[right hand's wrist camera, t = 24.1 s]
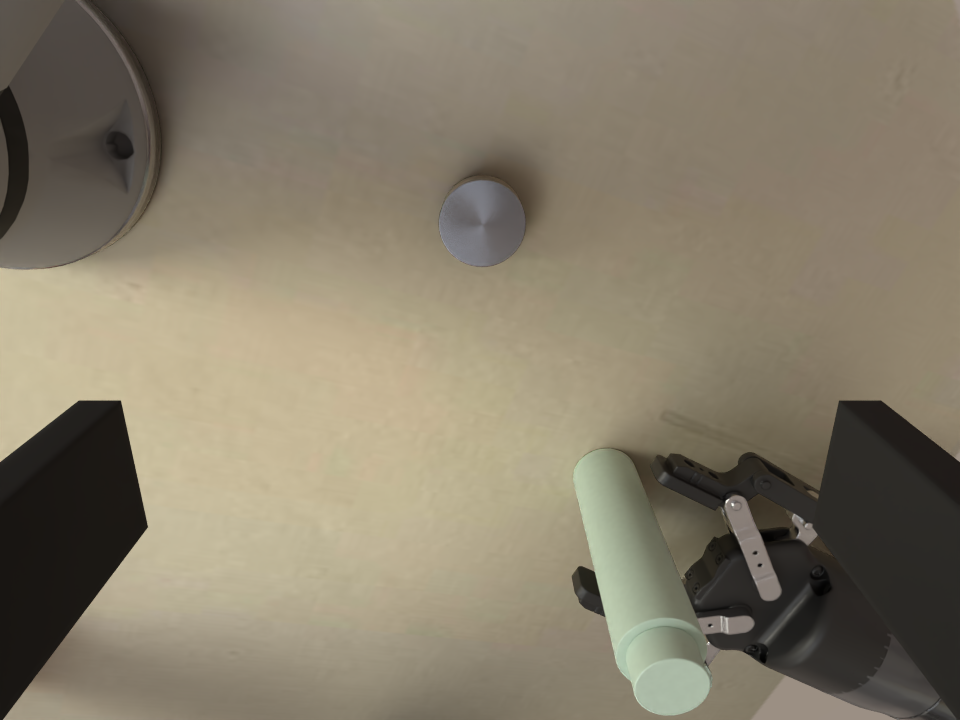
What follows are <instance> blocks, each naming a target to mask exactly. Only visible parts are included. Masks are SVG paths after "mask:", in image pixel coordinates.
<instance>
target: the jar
mask: <svg viewBox="0 0 960 720" xmlns="http://www.w3.org/2000/svg"><path fill="white" fill-rule="evenodd" d="M573 481H574V486H575V490H576V494H577V499H578V503H579V507H580V511H581V515H582V520H583V524H584V528H585V532H586V536H587V541H588V545H589V549H590V553H591V558H592V562H593V566H594V570H595V574H596V579H597V583H598V587H599V591H600V595H601V600H602V604H603V608H604V612H605V616H606V621H607V625H608V629H609V633H610V638H611V642H612V646H613V650H614V654H615V659H616V663H617V666H618V668H619V670H620V671H621V673H622V674H623V675H624V676H625V677H626V678H627V679H629V680H630V681H631V683H632V687H633V690H634V694H635V697H636V699H637V701H638V702H639V704H640V705H641V706H642V707H643V708H645V709H646V710H648V711H650V712H652V713H655V714H659V715H668V716H670V715H679V714H683V713H686V712H689V711H691V710H693V709H694V708H696V707H697V706H699V705H700V704H701V703H702V702H703V701H704V700H705V698H706V697H707V695H708V693H709V691H710V688H711V687H712V680H713V679H712V675H711V672H710V670H709V668H708V667H707V665H706V663H705V664H704V662H705V659H706V656H707V642H706V639H705V637H704V634H703V632H702V629H701V627H700V624H699V622H698V620H697V617H696V615H695V612H694V610H693V607H692V605H691V602H690V600H689V597H688V595H687V593H686V590H685V588H684V585H683V583H682V580H681V578H680V575H679V573H678V571H677V568H676V566H675V563H674V561H673V558H672V556H671V553H670V551H669V549H668V546H667V544H666V541H665V539H664V536H663V534H662V531H661V529H660V527H659V524H658V522H657V519H656V517H655V514H654V512H653V509H652V507H651V504H650V502H649V500H648V497H647V495H646V492H645V490H644V487H643V485H642V482H641V480H640V478H639V475H638V473H637V470H636V468H635V465H634V463H633V461H632V460H631V459H630V458H629V457H628V456H627V455H626V454H625V453H623V452H621V451H619V450H615V449H610V448H604V449H597V450H594V451H592V452H590V453H588V454H586V455H585V456H584V457H583V458H582V459H581V460H580V461H579V462H578V463H577V465H576V467H575V469H574V473H573Z"/></svg>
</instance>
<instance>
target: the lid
mask: <svg viewBox="0 0 960 720" xmlns="http://www.w3.org/2000/svg"><path fill="white" fill-rule="evenodd" d="M525 228H526V218H525V212H524V209H523V206H522V203H521V201H520V199H519V197H518V195H517V193H516V192H515V191H514V189H513V188H512V187H511V186H510V185H509V184H507V183H506V182H504V181H503V180H501V179H499V178H496V177H493V176H489V175H476V176H471V177H468V178H465V179H464V180H462V181H460V182H459V183H457V184H456V185H455V186H454V187H453V188H452V189H451V190H450V191H449V192H448V194H447V196H446V197H445V200H444V202H443V205H442V208H441V211H440V216H439V231H440V236H441V238H442V241H443V243H444V245H445V247H446V248H447V249H448V251H449V252H450V253H451V254H452V255H453V256H454V257H455V258H457V259H458V260H460V261H461V262H463V263H465V264H468V265H471V266H476V267H488V266H493V265H496V264H499V263H501V262H503V261H505V260H506V259H508V258H509V257H510V256H512V255H513V254H514V252H515V251H516V250H517V249H518V247H519V246H520V244H521V242H522V240H523V237H524V234H525Z"/></svg>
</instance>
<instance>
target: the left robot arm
mask: <svg viewBox="0 0 960 720" xmlns="http://www.w3.org/2000/svg"><path fill="white" fill-rule="evenodd" d="M650 467H651V469H652V471H653V474H654V476H655V478H656V480H657V481H658V482H659V483H661V484H662V485H663V486H665V487H667V488H669V489H671V490H673V491H676V492H678V493H680V494H682V495H684V496H686V497H688V498H690V499H692V500H694V501H696V502H698V503H700V504H703V505H705V506H707V507H709V508H711V509H713V510H716V509H717V508H718V506H719V509H720V512H721V514H722V517H723V520H724V522H725V525H726V527H727V530H728V532H729V534H726V535H724V536H722V537H720V538H719V539H718V538H716V537H714V538H713V539H712V540H711V542H710V543H709V544H708V545H707V547H706V550H705V552H704V554H703V557H702V558H701V559H699V560H698V561H697V562H696V563H694V564H693V565H692V566H691V567H690V568H689V570H688V571H687V572H686V574H685V577H686V579H681V580H682V583H683V585H684V588H685V590H686V593H687V595H688V597H689V600H690V602H691V605H692V607H693V610H694V612H695V615H696V617H697V620H698V622H699V624H700V627H701V629H702V632H703V634H704V637H705V639H706V642H707V656H706V659H705V662H704V664H705V663H706V665H707V667H708V666H709V664H710V663H711V662H712V660H713V659H714V658H715V656H716V655H717V654H718V652H719V651H720V650H739V651H743V652H745V653H746V654H748V655H749V656H751V657H752V658H754V659H755V660H757V661H758V662H760V663H761V664H763V665H764V666H766V667H768V668H770V669H773V670H775V671H777V672H779V673H782V674H784V675H786V676H789V677H791V678H793V679H795V680H798V681H800V682H802V683H805V684H807V685H809V686H811V687H814V688H816V689H818V690H820V691H822V692H825V693H827V694H830V695H832V696H834V697H837V698H839V699H841V700H843V701H846V702H848V703H850V704H853V705H855V706H858V707H861V708H864V709H868V710H871V711H876V712H880V713H883V714H886V715H888V716H890V717H893V718H895V719H897V720H957V719H956V717H955V716H954V715H953V713H952V712H951V711H950V710H949V708H948V707H947V706H946V704H945V703H944V702H943V700H942V699H941V698H940V696H939V695H938V694H937V692H936V691H935V690H934V688H933V687H932V686H931V684H930V683H929V682H928V680H927V679H926V678H925V676H924V675H923V674H922V672H921V671H920V670H919V668H918V667H917V666H916V664H915V663H914V662H913V660H912V659H911V658H910V656H909V655H908V654H907V652H906V651H905V650H904V648H903V647H902V646H901V644H900V643H899V642H898V641H897V639H896V638H895V637H894V635H893V634H892V633H891V631H890V630H889V629H888V627H887V626H886V625H885V623H884V622H883V621H882V619H881V618H880V617H879V615H878V614H877V613H876V611H875V610H874V609H873V607H872V606H871V605H870V603H869V602H868V601H867V599H866V598H865V597H864V595H863V594H862V593H861V591H860V590H859V589H858V587H857V586H856V585H855V583H854V582H853V581H852V579H851V578H850V577H849V575H848V574H847V573H846V572H845V570H844V569H843V568H842V566H841V565H840V564H839V562H838V561H837V560H836V558H834V557H832V556H829V555H827V554H825V553H823V552H821V551H819V550H817V549H815V548H813V547H811V546H809V545H810V543H811V542H812V541H813V540H814V539H815V538H816V537H817V536H818V534H817V533H816V532H815V530H814V529H813V528H812V525H813V520H814V516H815V511H816V506H817V502H818V497H819V492H820V491H818V490H816V489H815V488H813V487H811V486H809V485H808V484H806V483H804V482H803V481H801V480H799V479H798V478H796V477H794V476H793V475H791V474H789V473H787V472H786V471H784V470H782V469H781V468H779V467H777V466H776V465H774V464H772V463H771V462H769V461H767V460H765V459H764V458H762V457H760V456H759V455H757V454H755V453H752V452H748V453H745V454H743V455H742V456H741V457H740V458H739V460H738V466H736V467H735V468H733V469H732V470H730V471H728V472H725V473H718V472H715V471H713V470H711V469H709V468H707V467H705V466H703V465H701V464H699V463H697V462H695V461H693V460H691V459H688V458H687V457H685V456H682V455H680V454H670V455H669V457H668V458H665V457H663V456H661V455H657V456H656V457H655V459H654V460H653V462H652V463H651V464H650ZM757 494H761V495H763V496H764V497H766V498H768V499H770V500H771V501H773V502H775V503H776V504H778V505H780V506H782V507H783V508H785V509H786V514H787V516H788V517H789V518H790V520H791V521H792V526H791V528H786V527H778V528H770V529H761V530H758V529H757V527H756V525H755V522H754V519H753V517H752V514H751V511H750V509H749V506H748V503H747V501H748V500H750V499H751V498H753V497H754V496H756V495H757ZM572 580H573V585H574V591H575V594H576V595H577V596H578V598H579V603H580V604H581V605H582V606H583V607H584V608H586V609H588V610H590V611H592V612H593V611H594V612H595V613H597V614H600V615H602V616H604V617H606V616H605V612H604V608H603V604H602V600H601V595H600V591H599V587H598V583H597V579H596V574H595V572H594V571H592V570H589V569H587V568H585V567H582V566H579V567H578V568H577V570H576V571H575V572H574V574H573V575H572ZM708 668H709V667H708Z"/></svg>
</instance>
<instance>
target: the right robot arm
mask: <svg viewBox="0 0 960 720" xmlns="http://www.w3.org/2000/svg"><path fill="white" fill-rule="evenodd" d="M160 160H161V131H160V124H159V117H158V112H157V108H156V104H155V100H154V97H153V94H152V91H151V88H150V85H149V83H148V80H147V78H146V76H145V73H144V71H143V69H142V67H141V65H140V63H139V61H138V59H137V58H136V56H135V54H134V52H133V51H132V49H131V48H130V46H129V45H128V43H127V41H126V40H125V39H124V37H123V36H122V35H121V33H120V32H119V31H118V29H117V28H116V27H115V26H114V25H113V23H112V22H111V21H110V20H109V19H108V18H107V17H106V15H105V14H104V13H103V12H102V11H101V10H99V9H98V8H97V7H96V6H95V5H94V4H93V3H92V2H91V1H90V0H0V267H1V268H8V269H44V268H52V267H58V266H63V265H66V264H70V263H73V262H76V261H78V260H81V259H83V258H85V257H88V256H90V255H92V254H95V253H97V252H99V251H101V250H103V249H105V248H107V247H108V246H110V245H112V244H113V243H115V242H116V241H117V240H119V239H120V238H121V237H122V236H123V235H125V234H126V233H127V232H128V231H129V230H130V229H131V228H132V227H133V225H134V224H135V223H136V222H137V221H138V219H139V218H140V216H141V215H142V213H143V212H144V210H145V209H146V207H147V205H148V203H149V201H150V199H151V196H152V194H153V191H154V188H155V185H156V181H157V177H158V174H159V167H160ZM147 528H148V525H147V520H146V516H145V511H144V506H143V502H142V497H141V492H140V488H139V483H138V478H137V474H136V469H135V464H134V460H133V455H132V450H131V446H130V441H129V436H128V432H127V427H126V422H125V418H124V413H123V408H122V404H121V401H78V402H77V403H75V404H74V405H73V406H71V407H70V408H69V409H68V410H66V411H65V412H64V413H62V414H61V415H60V416H59V417H57V418H56V419H55V420H54V421H52V422H51V423H50V424H48V425H47V426H46V427H45V428H43V429H42V430H41V431H40V432H38V433H37V434H36V435H34V436H33V437H32V438H31V439H29V440H28V441H27V442H25V443H24V444H23V445H22V446H20V447H19V448H18V449H17V450H15V451H14V452H13V453H11V454H10V455H9V456H8V457H6V458H5V459H4V460H2V461H1V462H0V720H3V719H4V717H5V716H6V715H7V713H8V712H9V711H10V710H11V708H12V707H13V706H14V704H15V703H16V702H17V700H18V699H19V698H20V696H21V695H22V694H23V692H24V691H25V690H26V688H27V687H28V686H29V684H30V683H31V682H32V680H33V679H34V678H35V676H36V675H37V674H38V672H39V671H40V670H41V668H42V667H43V666H44V664H45V663H46V662H47V660H48V659H49V658H50V656H51V655H52V654H53V652H54V651H55V650H56V648H57V647H58V646H59V644H60V643H61V642H62V641H63V639H64V638H65V637H66V635H67V634H68V633H69V631H70V630H71V629H72V627H73V626H74V625H75V623H76V622H77V621H78V619H79V618H80V617H81V615H82V614H83V613H84V611H85V610H86V609H87V607H88V606H89V605H90V603H91V602H92V601H93V599H94V598H95V597H96V595H97V594H98V593H99V591H100V590H101V589H102V587H103V586H104V585H105V583H106V582H107V581H108V579H109V578H110V577H111V575H112V574H113V573H114V572H115V570H116V569H117V568H118V566H119V565H120V564H121V562H122V561H123V560H124V558H125V557H126V556H127V554H128V553H129V552H130V550H131V549H132V548H133V546H134V545H135V544H136V542H137V541H138V540H139V538H140V537H141V536H142V534H143V533H144V532H145V530H146V529H147ZM812 528H813V529H814V530H815V532H816V533H817V534H818V536H819V537H820V538H821V540H822V541H823V542H824V544H825V545H826V546H827V548H828V549H829V550H830V552H831V553H832V554H833V556H834V557H835V558H836V560H837V561H838V562H839V564H840V565H841V566H842V568H843V569H844V570H845V572H846V573H847V574H848V575H849V577H850V578H851V579H852V581H853V582H854V583H855V585H856V586H857V587H858V589H859V590H860V591H861V593H862V594H863V595H864V597H865V598H866V599H867V601H868V602H869V603H870V605H871V606H872V607H873V609H874V610H875V611H876V613H877V614H878V615H879V617H880V618H881V619H882V621H883V622H884V623H885V625H886V626H887V627H888V629H889V630H890V631H891V633H892V634H893V635H894V637H895V638H896V639H897V641H898V642H899V643H900V644H901V646H902V647H903V648H904V650H905V651H906V652H907V654H908V655H909V656H910V658H911V659H912V660H913V662H914V663H915V664H916V666H917V667H918V668H919V670H920V671H921V672H922V674H923V675H924V676H925V678H926V679H927V680H928V682H929V683H930V684H931V686H932V687H933V688H934V690H935V691H936V692H937V694H938V695H939V696H940V698H941V699H942V700H943V702H944V703H945V704H946V706H947V707H948V708H949V710H950V711H951V712H952V713H953V715H954V716H955V717H956V719H957V720H960V462H959V461H957V460H956V459H955V458H954V457H952V456H951V455H950V454H949V453H947V452H946V451H945V450H943V449H942V448H941V447H940V446H938V445H937V444H936V443H935V442H933V441H932V440H931V439H929V438H928V437H927V436H926V435H924V434H923V433H922V432H920V431H919V430H918V429H917V428H915V427H914V426H913V425H912V424H910V423H909V422H908V421H906V420H905V419H904V418H903V417H901V416H900V415H899V414H898V413H896V412H895V411H894V410H892V409H891V408H890V407H889V406H887V405H886V404H885V403H883V402H882V401H839V404H838V408H837V413H836V418H835V422H834V427H833V432H832V436H831V441H830V446H829V450H828V455H827V460H826V464H825V469H824V474H823V478H822V483H821V488H820V492H819V497H818V502H817V506H816V511H815V516H814V520H813V525H812Z"/></svg>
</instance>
